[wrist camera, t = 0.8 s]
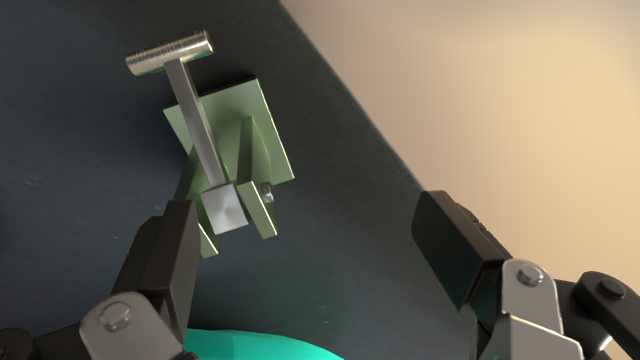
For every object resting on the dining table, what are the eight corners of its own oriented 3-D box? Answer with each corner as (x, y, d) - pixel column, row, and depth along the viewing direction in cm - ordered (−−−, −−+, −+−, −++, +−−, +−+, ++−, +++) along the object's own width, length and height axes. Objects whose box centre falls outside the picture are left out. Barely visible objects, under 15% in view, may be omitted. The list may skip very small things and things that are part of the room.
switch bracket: (165, 105, 27) (114, 177, 17) (256, 74, 27) (259, 129, 17) (217, 197, 32) (201, 293, 22) (293, 172, 32) (311, 256, 22)
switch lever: (137, 59, 21) (116, 49, 19) (211, 35, 21) (199, 22, 19) (205, 231, 23) (193, 242, 20) (273, 209, 23) (269, 217, 20)
